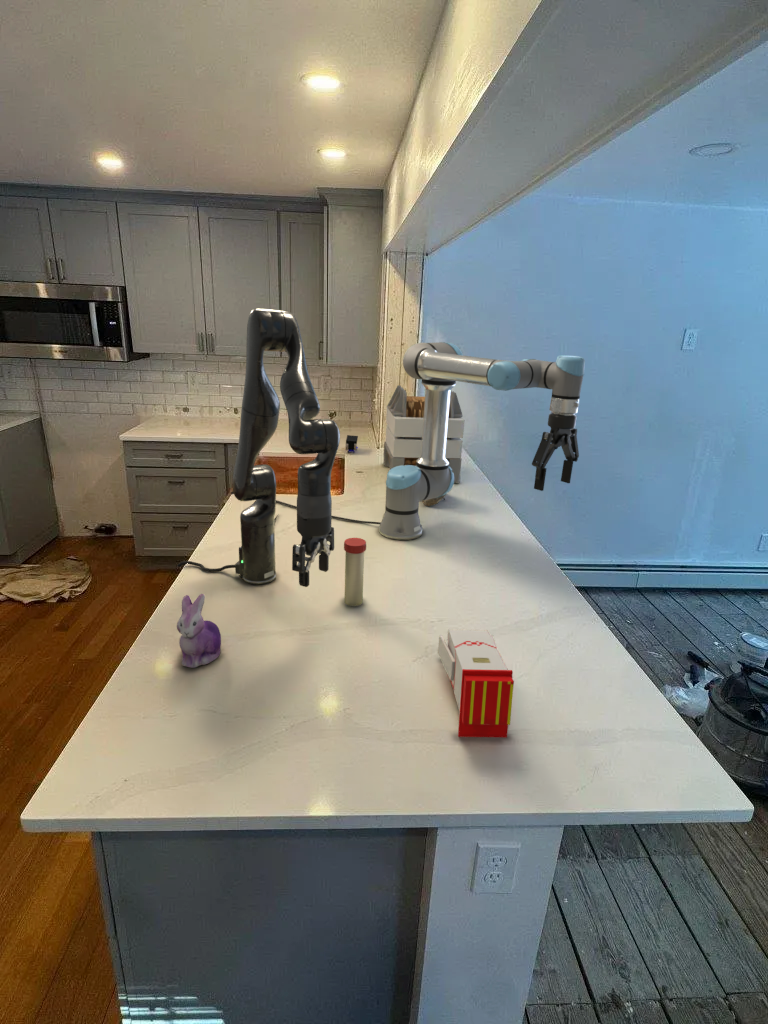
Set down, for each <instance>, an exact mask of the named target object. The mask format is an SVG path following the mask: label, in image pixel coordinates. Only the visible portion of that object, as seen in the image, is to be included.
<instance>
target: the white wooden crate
mask: <svg viewBox="0 0 768 1024" xmlns="http://www.w3.org/2000/svg"><path fill="white" fill-rule="evenodd" d="M407 394H408V393H407V390H406V389H404V388H403V387H402V385H399V384H398V385H397V386H396V388H395V390H394V392H393V394H392V395H391V398H390V400H389V402H388V404H387V405H386V413H385V414H386V415H385V423H386V428H385V438H384V442H383V466H384V467H388V468H389V470H390V469H392V468H394V467H396V466H401V465H404V466H405V465H413V466H416V461H417V459H418V458H420V457H421V449H422V434H423V419H424V404H425V396H415V395H414V396H413V395H412V396H411V395H407ZM464 429H465V419H464V418H463V411H462V408H461V405H460V402H459V398H458V395H457V392H455V391H453V390H451V392H450V404H449V416H448V428H447V441H446V453H445V458H446V459H447V461H448V462H449V466H450V467H451V469H452V473H454V484H455V483H456V484H459V483H461V472H462V461H463V460H462V453H463V442H464V441H463V440H462V439H463V438H464V431H465V430H464Z"/></svg>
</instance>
